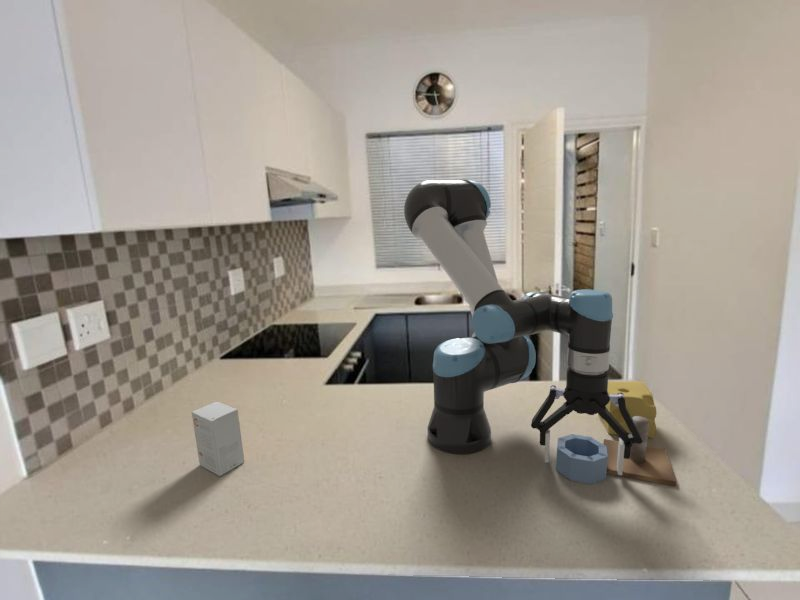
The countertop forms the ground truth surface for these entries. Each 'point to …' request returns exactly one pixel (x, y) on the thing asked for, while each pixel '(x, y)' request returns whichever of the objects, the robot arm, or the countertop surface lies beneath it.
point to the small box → (218, 437)
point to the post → (641, 458)
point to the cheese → (632, 404)
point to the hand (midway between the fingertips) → (582, 465)
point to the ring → (581, 458)
